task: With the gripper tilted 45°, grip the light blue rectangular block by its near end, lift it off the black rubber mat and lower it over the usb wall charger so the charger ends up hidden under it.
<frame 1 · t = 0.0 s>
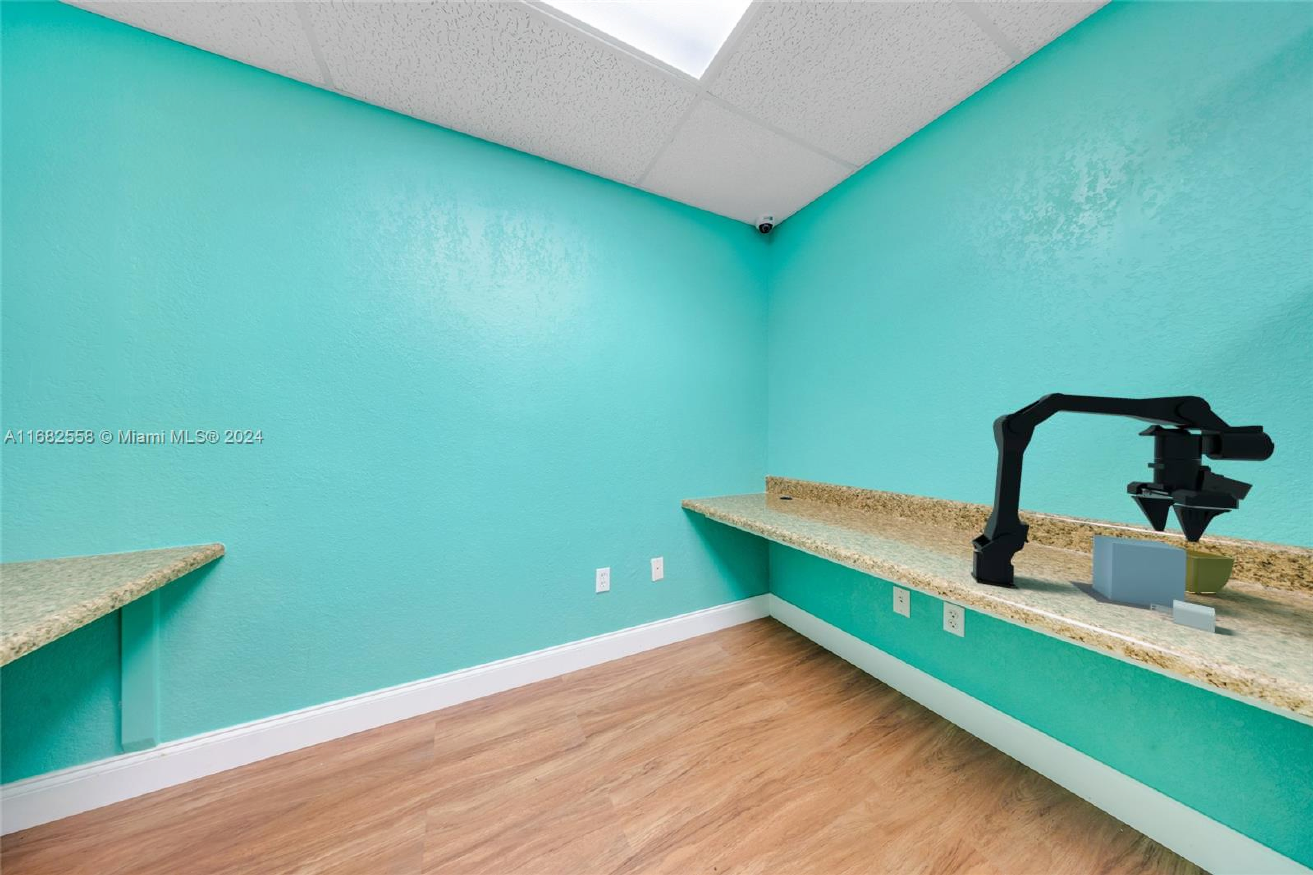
hand: (1175, 536, 77), 15 cm above the counter, tool pointing down, fingers open, 9 cm apart
flower pot: (1187, 591, 86), on the counter
light blue rectangular block: (1135, 598, 80), resting on mat
mat: (1135, 600, 80), on the counter
usb wall charger: (1180, 625, 70), on the counter
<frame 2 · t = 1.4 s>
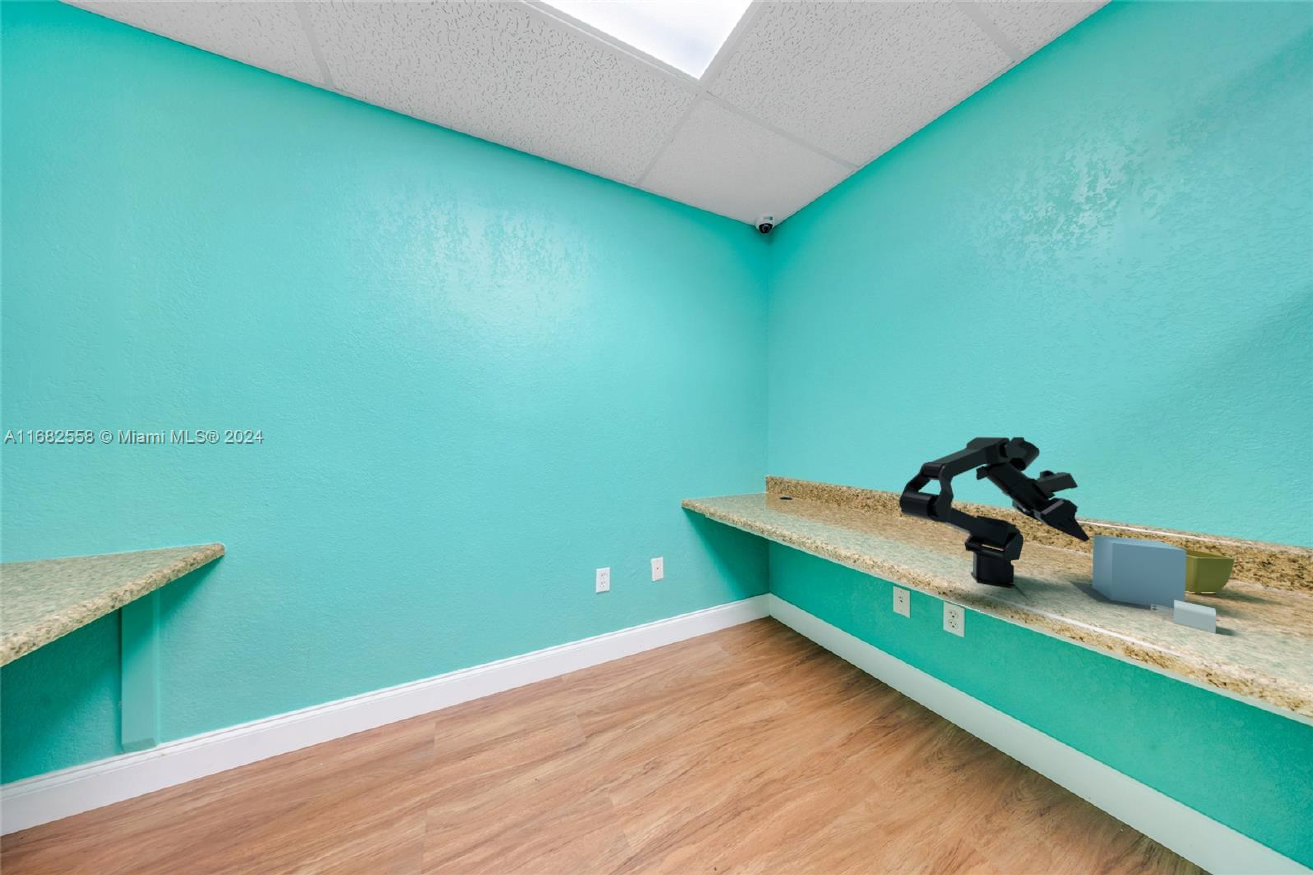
hand: (1076, 535, 85), 13 cm above the counter, tool tilted 45°, fingers open, 9 cm apart
nothing on the counter moved.
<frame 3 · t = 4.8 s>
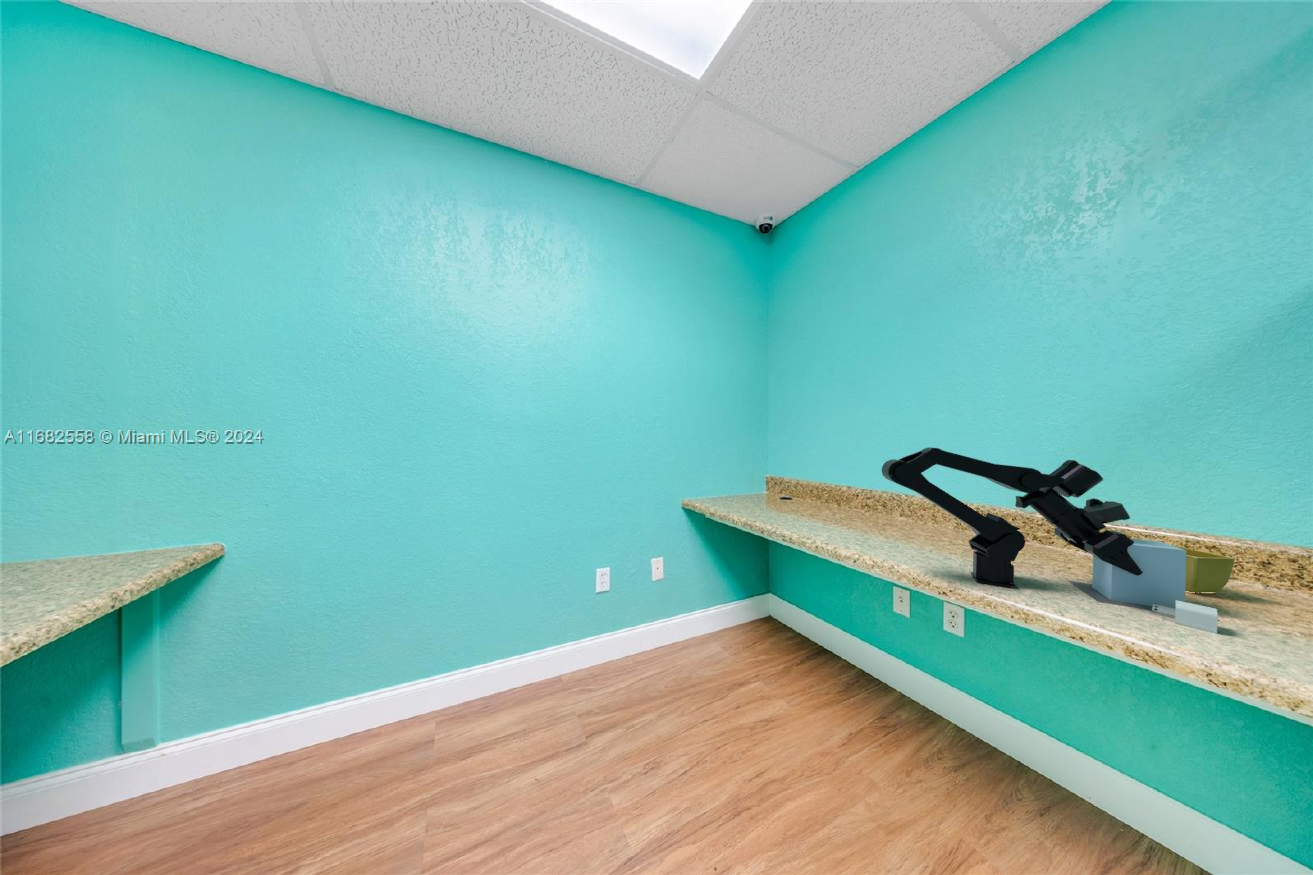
hand: (1128, 568, 81), 7 cm above the counter, tool tilted 45°, fingers closed on light blue rectangular block, 7 cm apart
light blue rectangular block: (1135, 598, 80), resting on mat, touching gripper
everything else where it was.
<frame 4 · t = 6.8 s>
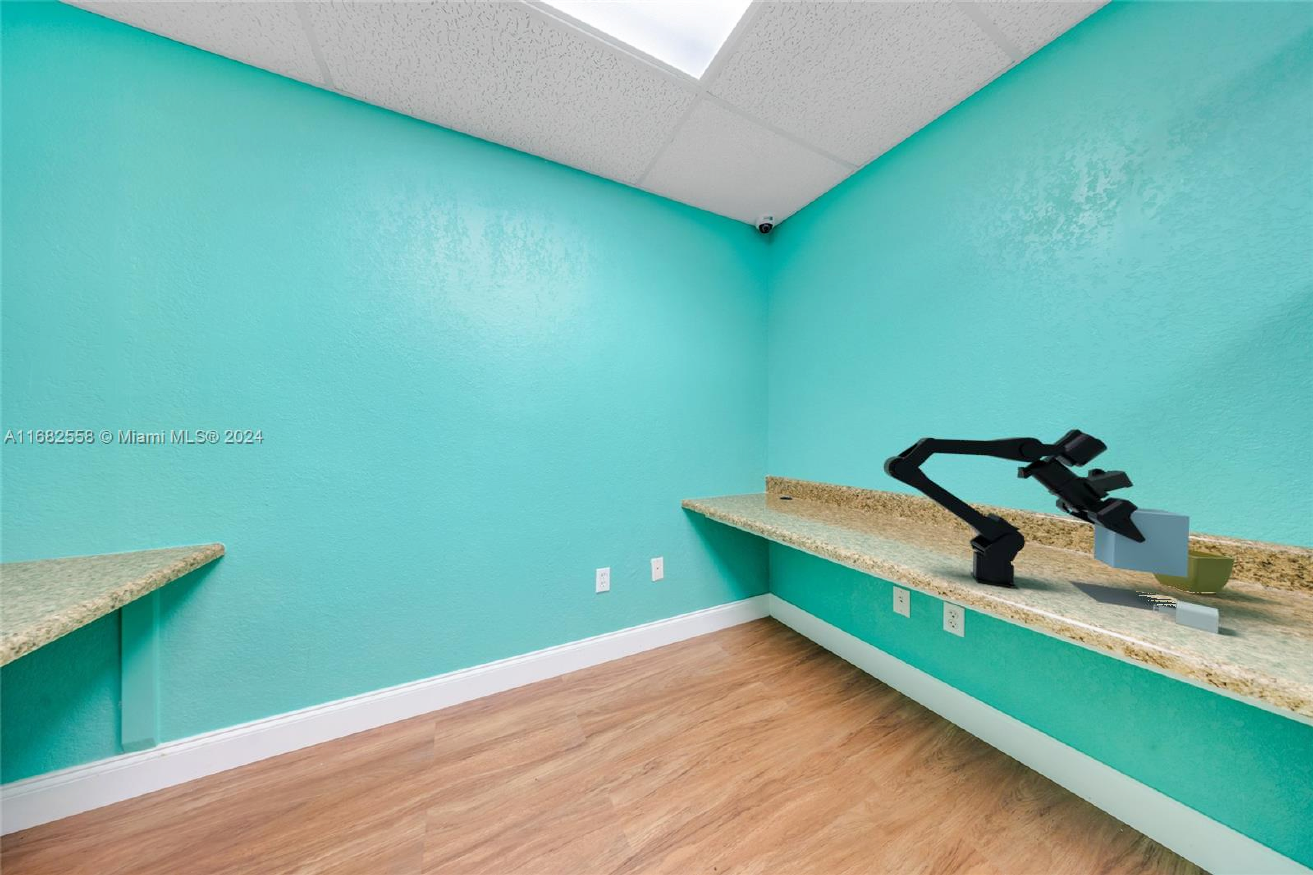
hand: (1130, 537, 80), 13 cm above the counter, tool tilted 45°, fingers closed on light blue rectangular block, 7 cm apart
light blue rectangular block: (1137, 567, 80), point 7 cm above the counter, touching gripper
everything else where it was.
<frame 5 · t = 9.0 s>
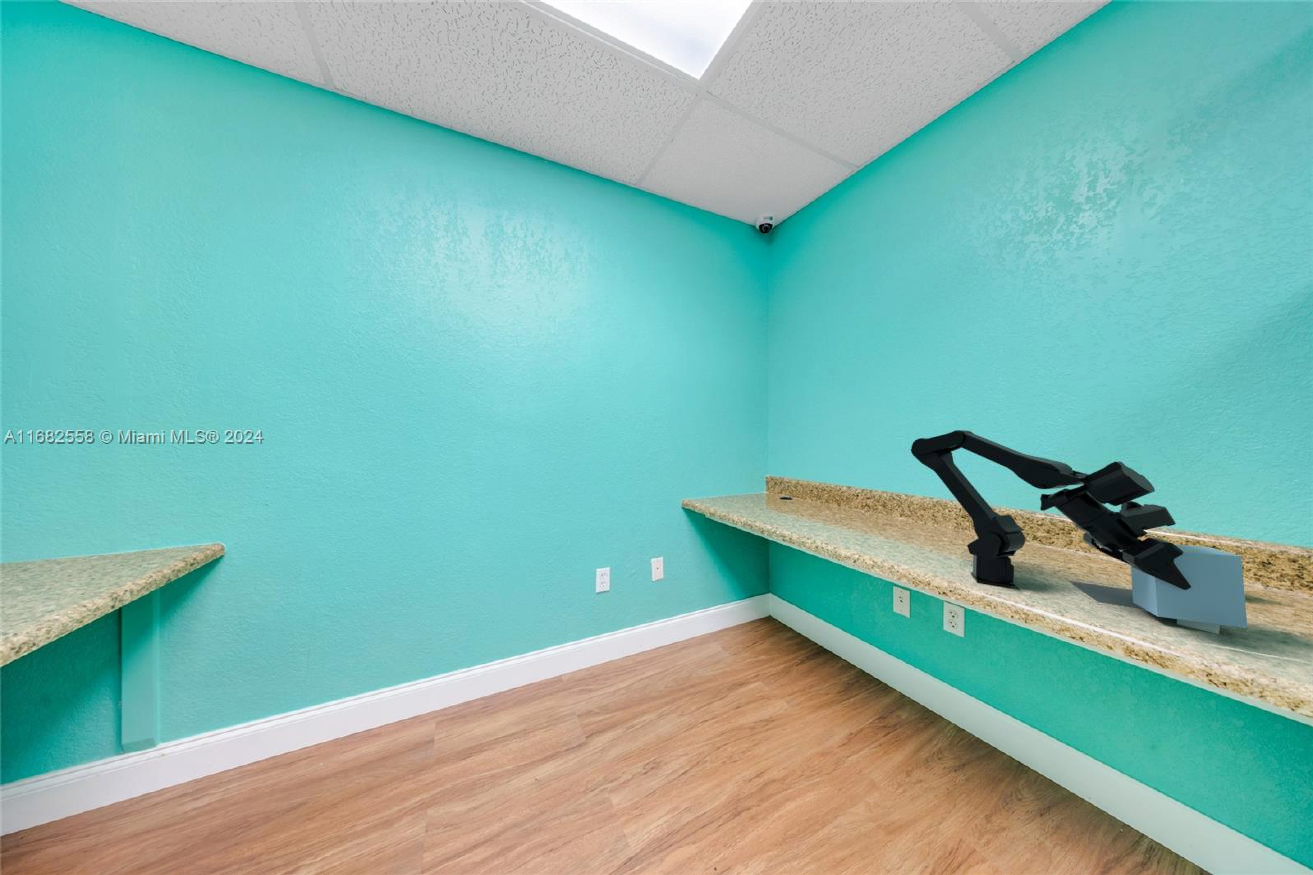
hand: (1172, 581, 71), 8 cm above the counter, tool tilted 45°, fingers closed on light blue rectangular block, 7 cm apart
light blue rectangular block: (1185, 614, 70), point 2 cm above the counter, touching gripper
everything else where it was.
when the fingers open (8 cm above the counter, at t = 9.9 s): light blue rectangular block drops 2 cm, on the counter.
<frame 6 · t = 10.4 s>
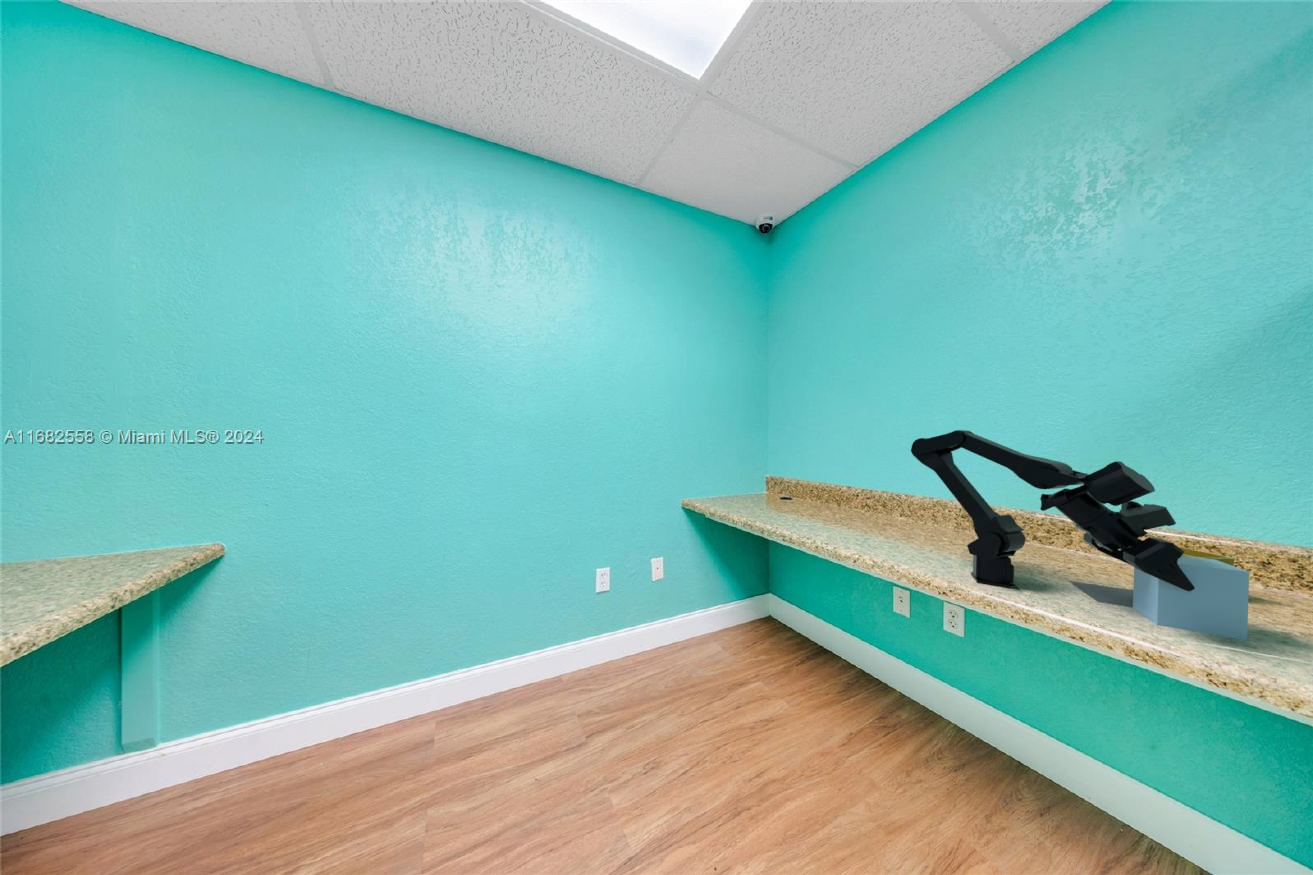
hand: (1172, 581, 71), 8 cm above the counter, tool tilted 45°, fingers open, 9 cm apart
light blue rectangular block: (1185, 625, 70), on the counter
everything else where it was.
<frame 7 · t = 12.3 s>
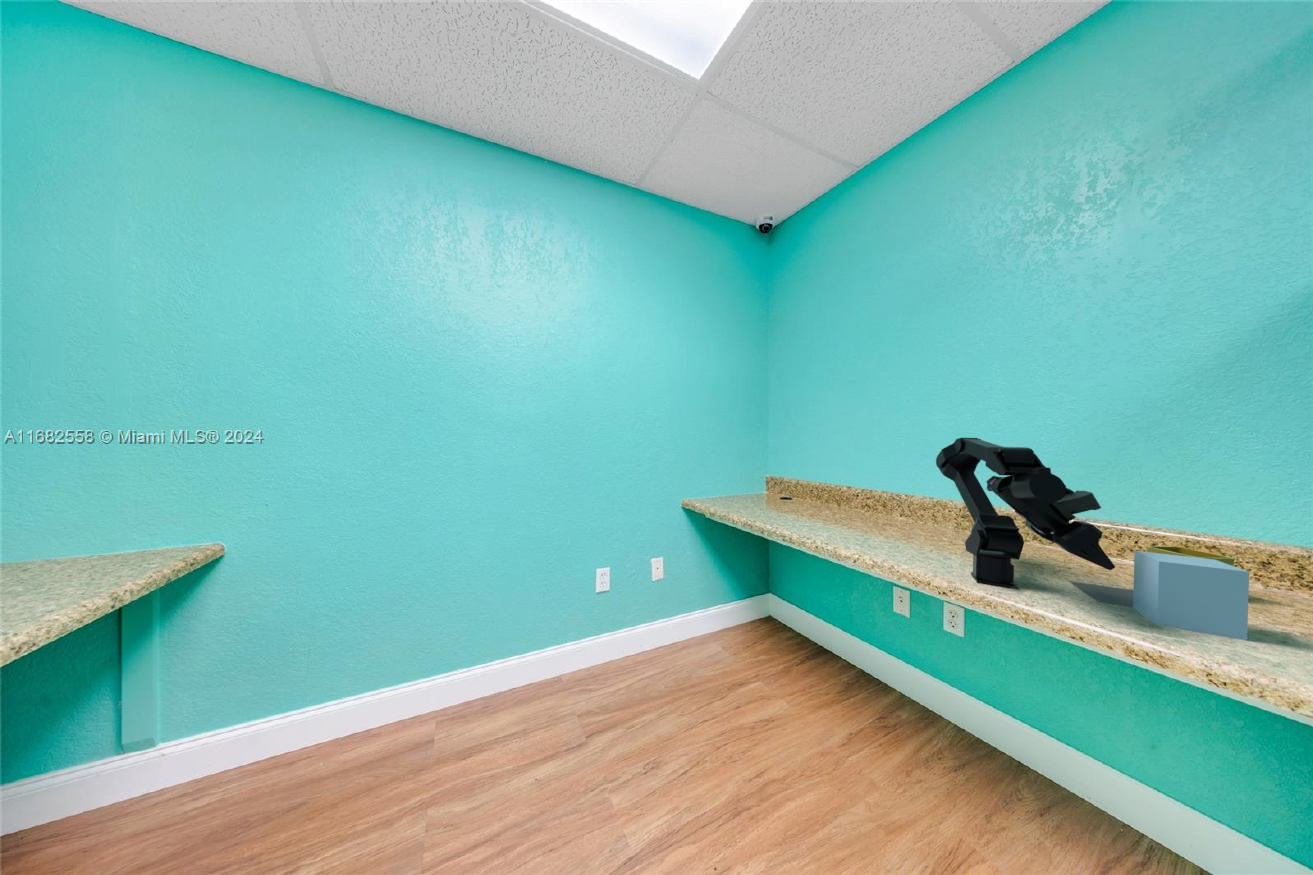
hand: (1099, 561, 76), 9 cm above the counter, tool tilted 45°, fingers open, 9 cm apart
nothing on the counter moved.
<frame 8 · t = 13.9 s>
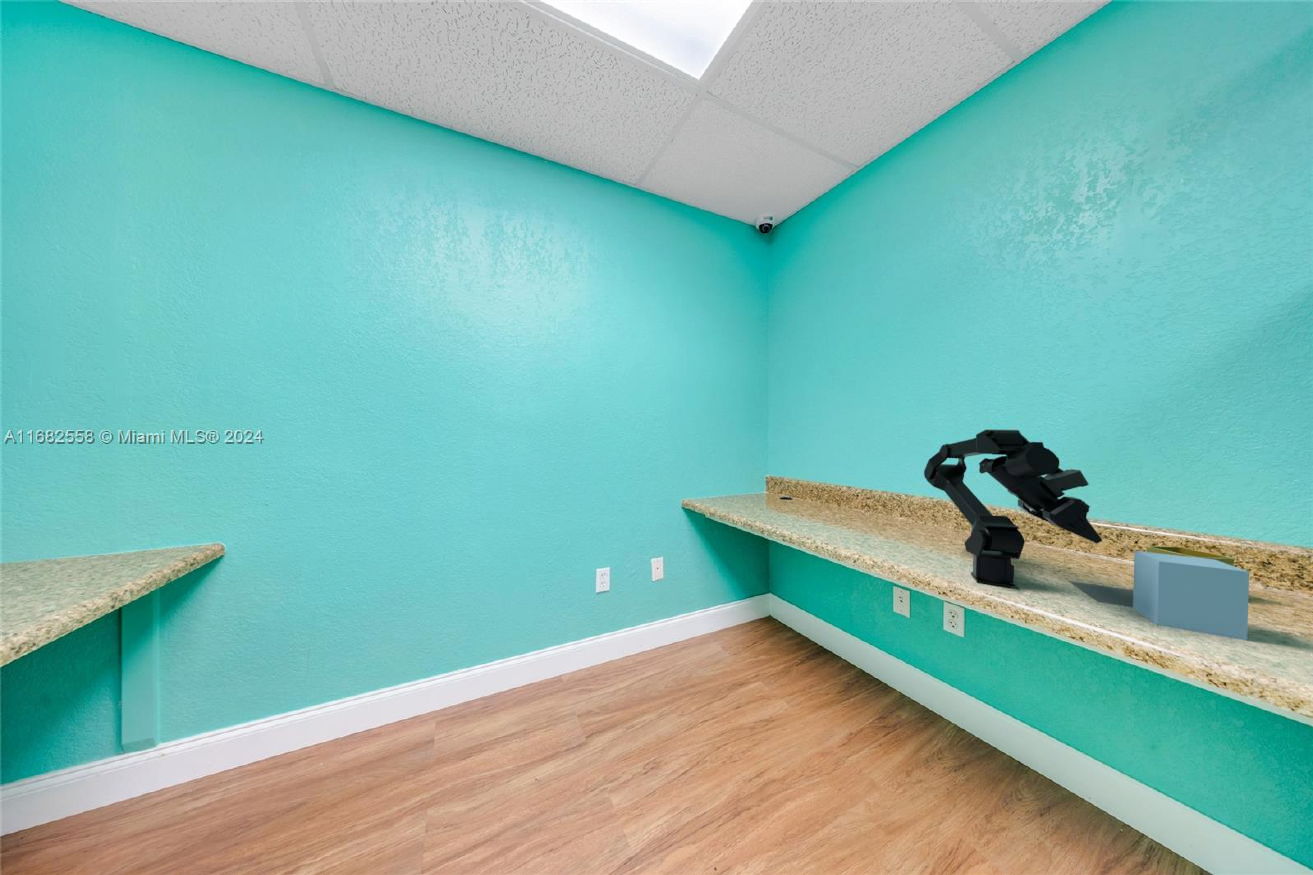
hand: (1087, 536, 80), 14 cm above the counter, tool tilted 45°, fingers open, 9 cm apart
nothing on the counter moved.
at the end: light blue rectangular block 0.3 cm from the usb wall charger (horizontally); light blue rectangular block tilted 0°; light blue rectangular block on the counter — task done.
